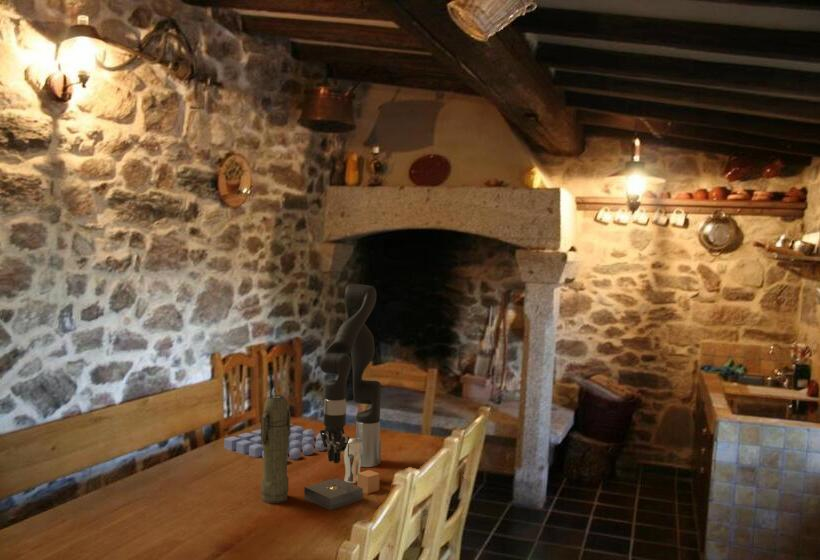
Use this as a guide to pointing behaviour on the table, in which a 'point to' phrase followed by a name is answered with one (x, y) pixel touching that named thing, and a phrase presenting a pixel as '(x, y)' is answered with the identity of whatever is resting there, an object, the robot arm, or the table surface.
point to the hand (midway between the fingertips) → (334, 461)
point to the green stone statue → (275, 449)
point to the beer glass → (353, 460)
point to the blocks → (296, 441)
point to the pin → (333, 487)
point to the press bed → (333, 493)
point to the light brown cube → (368, 481)
